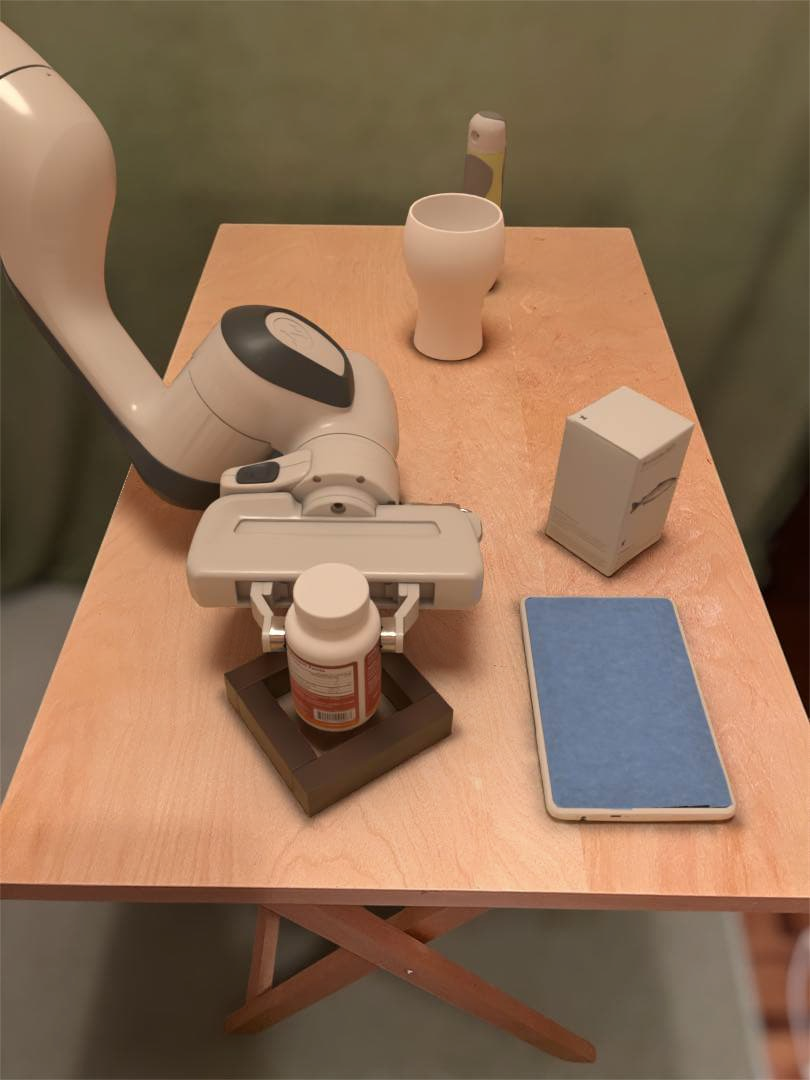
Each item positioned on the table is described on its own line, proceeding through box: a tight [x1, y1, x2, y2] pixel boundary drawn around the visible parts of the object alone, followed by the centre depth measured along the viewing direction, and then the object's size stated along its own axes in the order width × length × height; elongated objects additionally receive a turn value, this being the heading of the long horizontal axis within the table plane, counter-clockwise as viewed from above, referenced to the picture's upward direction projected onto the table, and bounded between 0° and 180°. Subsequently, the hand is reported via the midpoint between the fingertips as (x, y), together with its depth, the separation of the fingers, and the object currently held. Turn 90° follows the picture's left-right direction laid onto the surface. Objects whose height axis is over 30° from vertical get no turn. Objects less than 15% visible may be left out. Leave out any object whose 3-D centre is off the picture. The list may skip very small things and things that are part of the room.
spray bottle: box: [462, 110, 508, 289], centre depth 105 cm, size 5×5×20 cm
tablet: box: [518, 595, 737, 822], centre depth 66 cm, size 19×13×1 cm, turn 1°
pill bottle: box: [285, 563, 382, 733], centre depth 60 cm, size 6×6×11 cm
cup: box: [402, 192, 507, 361], centre depth 97 cm, size 11×11×15 cm
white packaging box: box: [544, 384, 696, 577], centre depth 75 cm, size 7×7×13 cm
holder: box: [223, 650, 454, 818], centre depth 64 cm, size 12×12×3 cm
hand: (332, 646), depth 58 cm, fingers closed on pill bottle, 6 cm apart
